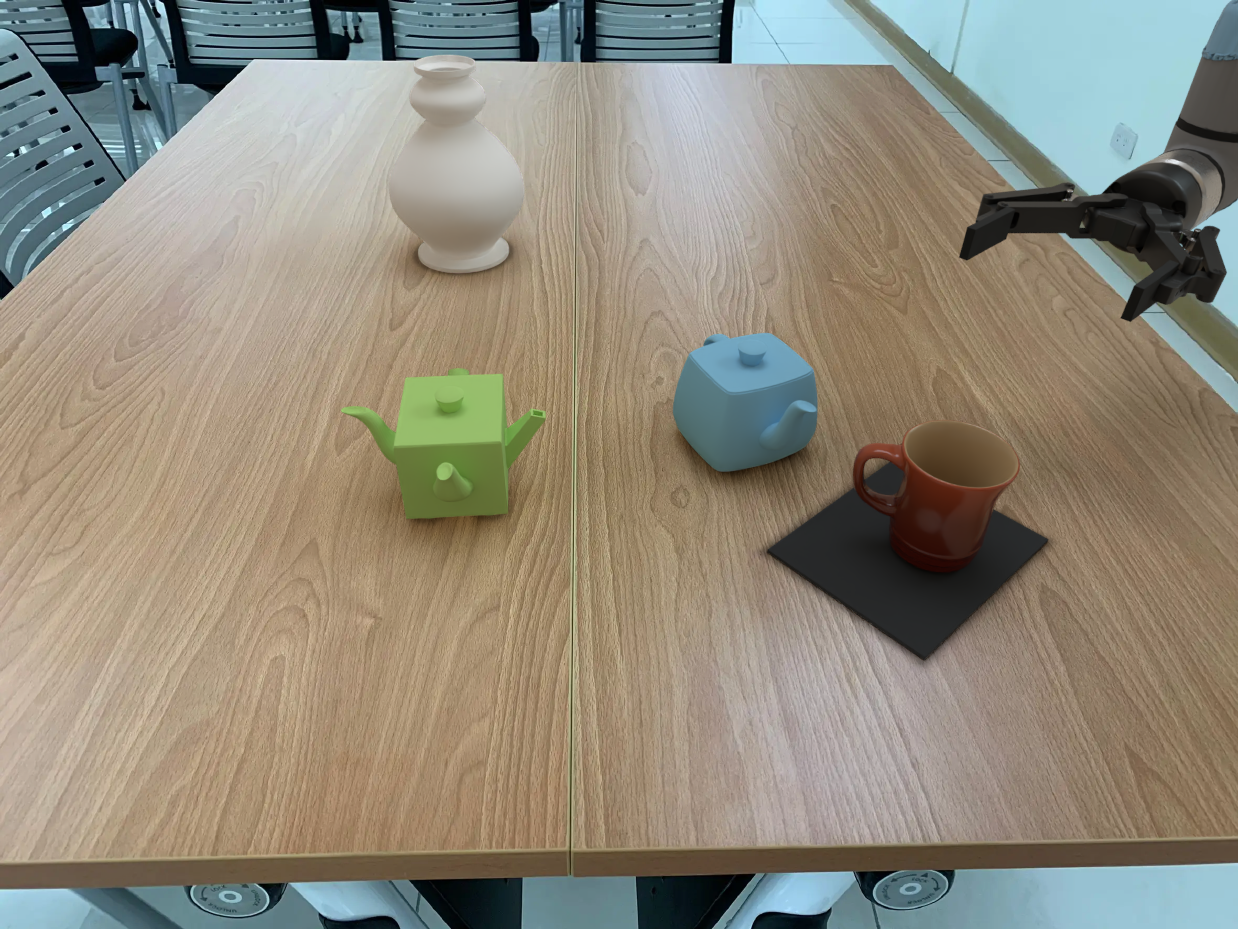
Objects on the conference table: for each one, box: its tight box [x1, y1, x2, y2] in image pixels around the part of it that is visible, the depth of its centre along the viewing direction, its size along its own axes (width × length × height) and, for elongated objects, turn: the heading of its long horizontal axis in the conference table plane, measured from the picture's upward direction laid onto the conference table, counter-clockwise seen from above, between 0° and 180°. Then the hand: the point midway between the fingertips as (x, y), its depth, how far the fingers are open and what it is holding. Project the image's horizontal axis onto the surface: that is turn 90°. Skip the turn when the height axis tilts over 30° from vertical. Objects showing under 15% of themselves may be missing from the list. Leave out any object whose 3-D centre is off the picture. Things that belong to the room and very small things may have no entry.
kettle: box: [340, 367, 547, 520], centre depth 81 cm, size 15×14×11 cm
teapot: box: [672, 332, 819, 473], centre depth 86 cm, size 12×18×12 cm
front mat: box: [766, 461, 1049, 661], centre depth 79 cm, size 16×20×1 cm
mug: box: [852, 419, 1021, 573], centre depth 76 cm, size 13×9×11 cm
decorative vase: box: [388, 54, 526, 274], centre depth 116 cm, size 18×18×25 cm
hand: (1044, 272), depth 69 cm, fingers open, 13 cm apart
